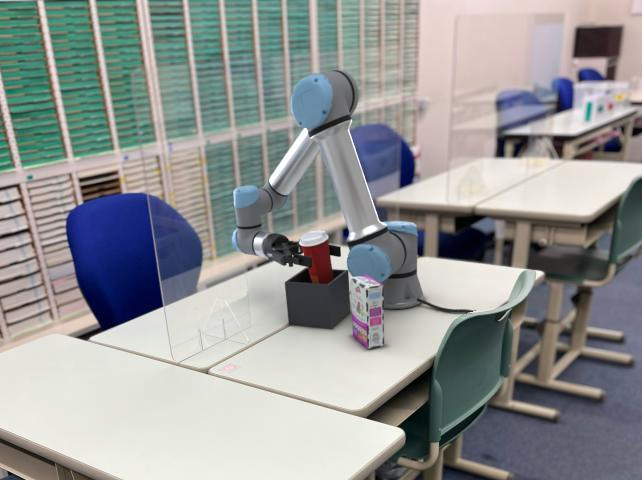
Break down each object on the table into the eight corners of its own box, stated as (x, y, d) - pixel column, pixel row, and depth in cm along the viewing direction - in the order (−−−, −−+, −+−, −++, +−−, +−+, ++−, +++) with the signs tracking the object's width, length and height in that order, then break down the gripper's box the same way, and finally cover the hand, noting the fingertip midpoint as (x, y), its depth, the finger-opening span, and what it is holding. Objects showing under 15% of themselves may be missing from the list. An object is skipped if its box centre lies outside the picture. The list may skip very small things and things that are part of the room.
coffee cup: (341, 277, 202) (330, 227, 193) (333, 290, 196) (322, 239, 187) (314, 280, 205) (302, 231, 196) (306, 293, 199) (293, 242, 190)
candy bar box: (385, 346, 182) (384, 284, 173) (368, 350, 181) (365, 288, 172) (368, 332, 191) (366, 273, 182) (351, 335, 190) (349, 276, 181)
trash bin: (350, 312, 205) (348, 270, 198) (331, 329, 195) (328, 285, 188) (309, 308, 211) (305, 267, 204) (288, 324, 201) (284, 282, 194)
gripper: (301, 249, 213) (354, 259, 199) (244, 269, 201) (296, 282, 186) (299, 224, 209) (353, 233, 195) (240, 242, 197) (293, 254, 182)
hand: (325, 257), depth 191 cm, fingers open, 11 cm apart
